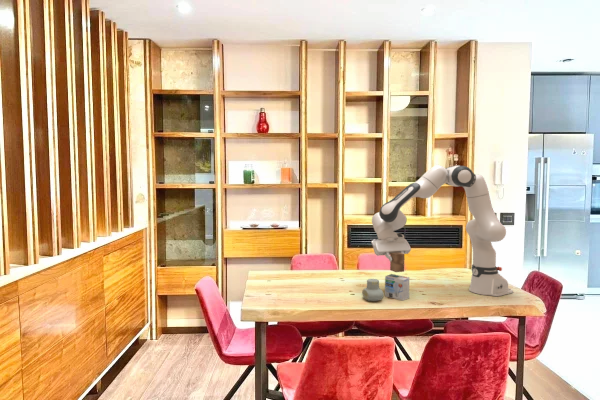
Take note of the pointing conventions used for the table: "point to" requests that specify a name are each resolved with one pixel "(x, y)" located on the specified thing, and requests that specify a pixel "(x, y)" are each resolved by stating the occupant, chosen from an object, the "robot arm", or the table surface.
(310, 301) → the table surface
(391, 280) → the light bulb box
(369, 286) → the air freshener
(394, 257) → the walnut block
